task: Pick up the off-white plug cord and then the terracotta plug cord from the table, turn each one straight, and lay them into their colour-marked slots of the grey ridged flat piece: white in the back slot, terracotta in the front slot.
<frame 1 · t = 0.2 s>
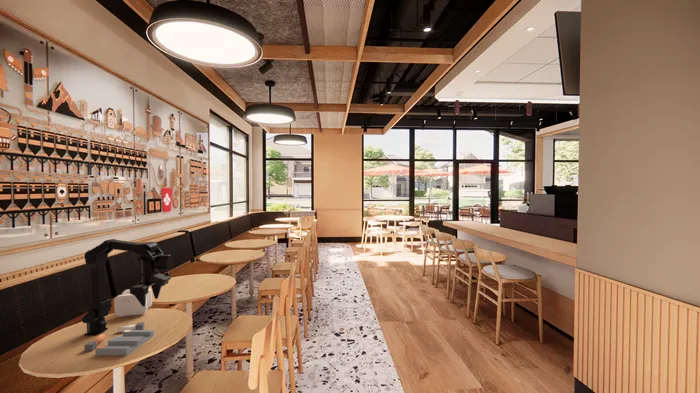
hand: (150, 302, 143), 14 cm above the table, tool pointing down, fingers open, 9 cm apart
orange cord: (96, 344, 133), on the table
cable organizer: (134, 313, 166), on the table
white cord: (128, 330, 144), on the table
grey ridged flat piece: (126, 345, 131), on the table
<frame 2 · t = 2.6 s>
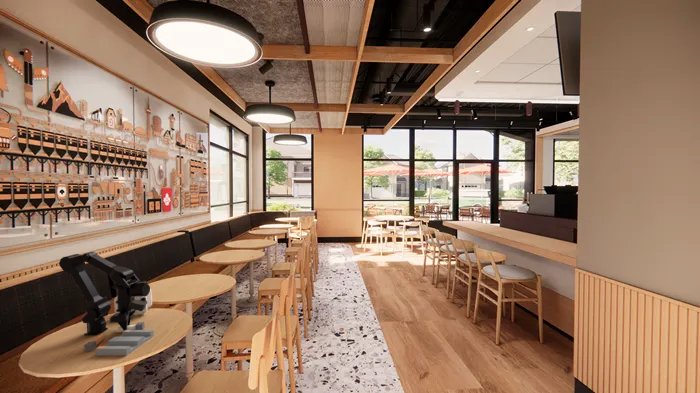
hand: (126, 329, 144), 1 cm above the table, tool pointing down, fingers closed on white cord, 3 cm apart
white cord: (128, 330, 144), on the table, touching gripper
everything else where it was.
when the fingers open (4 cm above the table, at t = 5.9 s): white cord drops 2 cm, resting on grey ridged flat piece.
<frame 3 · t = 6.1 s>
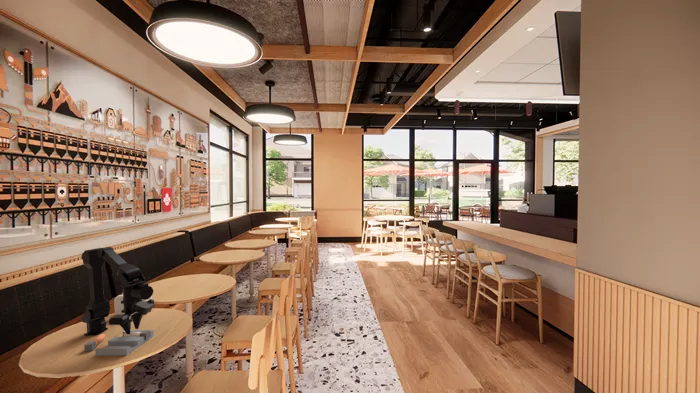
hand: (132, 331, 135), 4 cm above the table, tool pointing down, fingers open, 5 cm apart
white cord: (135, 338, 135), point 1 cm above the table, touching grey ridged flat piece
everything else where it was.
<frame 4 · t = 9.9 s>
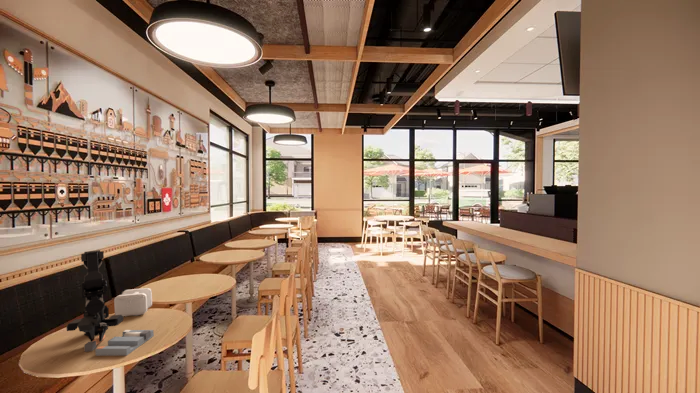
hand: (96, 341, 133), 1 cm above the table, tool pointing down, fingers closed on orange cord, 3 cm apart
orange cord: (96, 344, 133), on the table, touching gripper
everything else where it was.
when the fingers open (4 cm above the table, at t = 13.2 s): orange cord drops 2 cm, resting on grey ridged flat piece.
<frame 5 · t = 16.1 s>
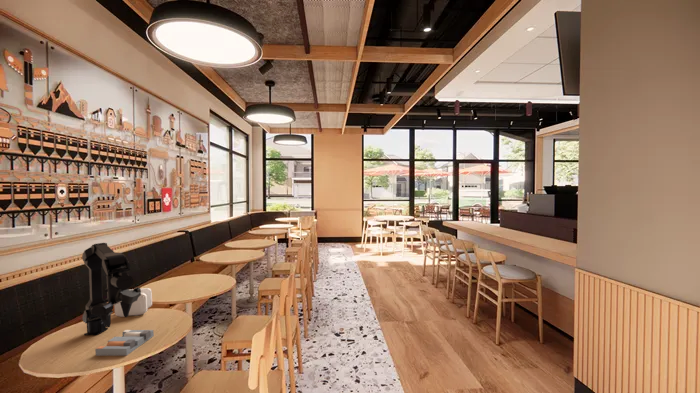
hand: (117, 321, 127), 12 cm above the table, tool pointing down, fingers open, 9 cm apart
orange cord: (118, 347, 127), point 1 cm above the table, touching grey ridged flat piece
everything else where it was.
at the end: white cord 0.9 cm from the target spot on the grey ridged flat piece, point 1.0 cm above the grey ridged flat piece's base; orange cord 0.0 cm from the target spot on the grey ridged flat piece, point 1.0 cm above the grey ridged flat piece's base; the gripper is holding nothing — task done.
